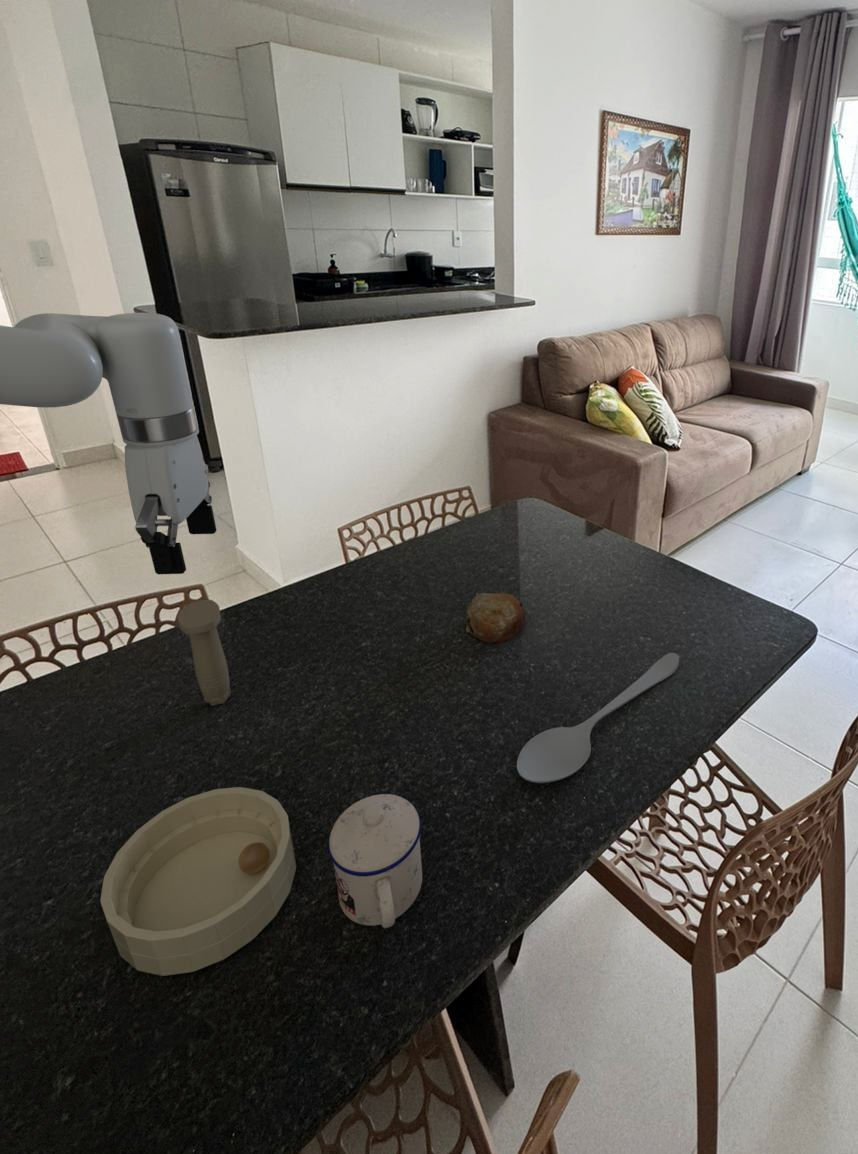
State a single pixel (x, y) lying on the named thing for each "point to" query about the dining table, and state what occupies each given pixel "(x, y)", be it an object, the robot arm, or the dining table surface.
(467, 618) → the bread roll
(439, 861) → the dining table surface
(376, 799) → the teacup with lid
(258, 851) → the egg
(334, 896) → the dining table surface
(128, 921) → the bowl
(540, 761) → the spoon
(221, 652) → the handle
